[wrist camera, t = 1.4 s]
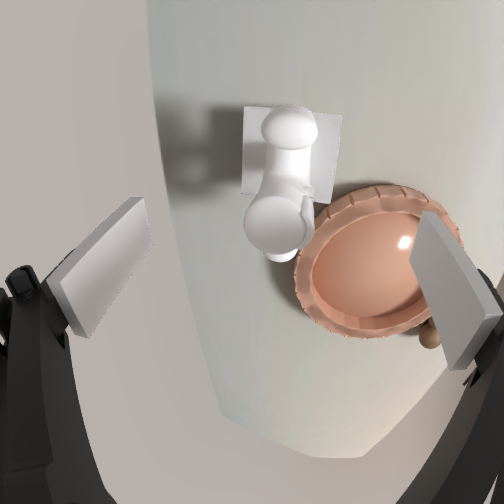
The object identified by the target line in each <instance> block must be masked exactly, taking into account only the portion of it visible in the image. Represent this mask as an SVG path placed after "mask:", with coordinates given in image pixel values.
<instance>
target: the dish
mask: <svg viewBox="0 0 504 504" xmlns="http://www.w3.org/2000/svg"><path fill="white" fill-rule="evenodd" d="M422 211H429V212H436V213H437V214H438V216H439V217H440V218H441V219H442V221H443V222H444V223H445V225H446V226H447V227H448V229H449V230H450V231H451V233H452V234H453V235H454V237H455V238H456V239H457V241H458V242H459V244H460V245H461V246H462V248H463V249H464V247H463V243H462V241H461V239H460V234H459V229H458V227H457V226H456V225H455V223H454V222H453V221H452V220H451V218H450V217H449V216H448V214H447V213H446V211H445V210H444V209H443V208H442V206H441V205H440V204H439V203H438V202H436V201H434V200H432V199H430V198H428V197H427V196H426V195H425V194H424V193H423V192H422V193H421V192H420V191H416V190H413V189H411V188H408V187H403V186H398V185H375V186H369V187H365V188H360V189H358V190H355V191H352V192H349V193H347V194H345V195H344V196H342V197H340V198H338V199H336V200H335V201H333V202H332V203H331V204H329V205H328V206H327V207H326V208H324V209H323V210H322V211H321V212H320V213H319V214H318V215H317V216H316V217H315V219H314V225H315V226H314V234H313V237H312V239H311V241H310V243H309V244H308V245H307V246H306V247H305V248H304V249H302V250H298V254H297V257H296V259H295V263H294V280H295V283H296V286H295V292H296V296H297V297H298V299H299V300H300V302H301V306H302V308H303V310H304V311H305V312H306V313H307V314H308V315H310V317H311V318H312V320H313V321H315V323H317V324H319V325H321V326H323V327H324V328H325V329H326V330H330V332H333V333H338V334H340V335H342V336H344V337H345V336H346V335H347V337H356V338H361V339H364V338H366V339H370V338H382V337H383V336H384V337H388V336H390V335H394V334H399V333H401V332H402V331H403V332H405V331H407V330H408V329H410V328H413V327H415V326H418V325H419V323H420V324H421V323H423V322H424V321H425V320H426V319H427V318H429V317H431V316H432V315H431V313H430V310H429V307H428V305H427V302H426V300H425V297H424V295H423V292H422V290H421V287H420V285H419V283H418V280H417V278H416V276H415V273H414V271H413V269H412V266H411V264H410V262H409V258H410V255H411V252H412V248H413V245H414V241H415V237H416V233H417V230H418V226H419V222H420V218H421V214H422Z"/></svg>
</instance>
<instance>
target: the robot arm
mask: <svg viewBox="0 0 504 504" xmlns="http://www.w3.org/2000/svg"><path fill="white" fill-rule="evenodd" d="M152 247H153V240H152V236H151V231H150V228H149V222H148V217H147V213H146V208H145V203H144V198H143V197H131V198H129V199H128V200H127V201H126V202H125V203H124V204H123V205H121V206H120V207H119V208H118V209H117V210H116V211H115V212H113V213H112V214H111V215H110V216H109V217H108V218H107V219H106V220H105V221H104V222H103V223H101V224H100V225H99V226H98V227H97V228H96V229H95V230H94V231H93V232H92V233H91V234H90V235H89V236H88V237H87V238H86V239H85V240H84V241H83V242H82V243H81V244H80V245H79V246H78V247H77V248H76V249H74V250H72V251H71V252H70V253H69V254H68V255H67V256H66V257H65V258H64V260H62V261H61V262H60V263H59V265H58V266H57V267H56V268H54V270H53V271H52V272H51V273H50V274H49V275H48V276H47V277H46V278H45V279H44V280H43V282H42V283H41V284H40V283H39V281H38V279H37V277H36V274H35V272H34V270H33V268H32V267H31V266H30V265H25V266H21V267H19V268H17V269H15V270H14V271H13V272H11V273H10V274H9V275H8V277H7V278H6V280H5V282H6V284H7V286H8V288H9V290H10V292H11V294H12V295H13V297H8V295H7V294H6V292H5V290H4V289H3V288H0V334H1V336H2V337H3V339H4V340H5V342H4V345H2V344H1V343H0V504H117V503H116V502H115V500H114V499H113V498H112V497H111V495H109V493H108V492H107V490H106V489H105V487H104V485H103V482H102V480H101V477H100V474H99V471H98V468H97V465H96V462H95V459H94V457H93V453H92V450H91V447H90V443H89V440H88V437H87V433H86V429H85V425H84V422H83V417H82V413H81V409H80V405H79V400H78V395H77V390H76V385H75V380H74V374H73V368H72V362H71V355H70V347H69V339H68V335H67V333H66V331H65V329H66V328H67V326H68V325H70V327H71V329H72V330H73V332H74V334H75V335H78V336H81V337H85V338H88V339H89V338H90V336H91V335H92V333H93V332H94V330H95V328H96V327H97V325H98V324H99V322H100V321H101V319H102V318H103V316H104V315H105V313H106V312H107V310H108V309H109V307H110V306H111V304H112V303H113V301H114V300H115V298H116V297H117V295H118V294H119V292H120V291H121V289H122V288H123V287H124V285H125V284H126V282H127V281H128V280H129V278H130V277H131V275H132V274H133V272H134V271H135V270H136V268H137V267H138V265H139V264H140V263H141V261H142V260H143V259H144V257H145V256H146V255H147V253H148V252H149V251H150V249H151V248H152ZM409 262H410V264H411V266H412V269H413V271H414V273H415V276H416V278H417V280H418V283H419V285H420V287H421V290H422V292H423V295H424V297H425V300H426V302H427V305H428V307H429V310H430V313H431V315H432V318H433V321H434V324H435V326H436V329H437V332H438V335H439V338H440V341H441V344H442V347H443V350H444V353H445V356H446V360H447V363H448V366H449V370H450V371H453V370H463V369H467V367H468V366H469V365H470V363H471V362H472V360H473V359H475V362H476V365H477V367H476V368H475V369H474V371H473V372H472V373H471V375H470V376H469V377H468V378H467V380H466V381H465V382H464V383H463V385H464V386H465V385H466V384H467V382H468V384H467V386H466V389H465V391H464V393H463V395H462V397H461V400H460V402H459V404H458V406H457V408H456V410H455V412H454V414H453V416H452V418H451V420H450V422H449V423H448V425H447V427H446V429H445V431H444V433H443V434H442V436H441V438H440V440H439V441H438V443H437V445H436V446H435V448H434V450H433V451H432V453H431V455H430V456H429V458H428V459H427V461H426V463H425V464H424V465H423V467H422V469H421V470H420V472H419V473H418V474H417V476H416V477H415V479H414V480H413V481H412V483H411V484H410V486H409V487H408V489H407V490H406V491H405V492H404V494H403V495H402V496H401V497H400V499H399V500H398V501H397V503H396V504H483V503H484V501H485V500H486V498H487V495H488V494H489V492H490V490H491V488H492V485H493V483H494V481H495V479H496V477H497V475H498V477H497V481H496V485H495V488H494V492H493V495H492V498H491V502H490V504H504V303H503V301H502V300H501V297H500V296H499V295H498V293H497V291H496V289H495V288H493V284H492V283H491V281H490V279H489V278H488V277H487V276H486V275H485V274H484V273H483V272H482V271H481V270H480V269H476V267H475V265H474V264H473V262H472V261H471V259H470V258H469V256H468V255H467V254H466V252H465V251H464V249H463V248H462V246H461V245H460V244H459V242H458V241H457V239H456V238H455V237H454V235H453V234H452V233H451V231H450V230H449V229H448V227H447V226H446V225H445V223H444V222H443V221H442V219H441V218H440V217H439V216H438V214H437V213H436V212H429V211H422V214H421V218H420V222H419V226H418V230H417V233H416V237H415V241H414V245H413V248H412V252H411V255H410V258H409Z"/></svg>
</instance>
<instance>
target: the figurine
mask: <svg viewBox="0 0 504 504" xmlns="http://www.w3.org/2000/svg"><path fill="white" fill-rule="evenodd" d="M342 121H343V116H339V115H332V114H325V113H318V112H310V111H309V110H307V109H306V108H304V107H302V106H298V105H293V104H285V105H280V106H277V107H275V108H267V107H250V106H244V119H243V153H242V193H241V194H245V195H256V196H255V198H254V200H253V201H252V203H251V204H250V206H249V207H248V209H247V211H246V213H245V216H244V230H245V233H246V235H247V237H248V239H249V241H250V242H251V243H252V244H253V245H254V246H255V247H256V248H258V249H259V250H261V251H263V253H264V254H265V256H266V257H267V258H268V259H270V260H272V261H275V262H286V261H288V260H290V259H292V258H293V257H294V256H295V254H296V253H297V251H298V250H302V249H304V248H305V247H306V246H307V245H308V244H309V243H310V241H311V239H312V237H313V234H314V226H315V225H314V207H313V202H318V203H326V204H330V203H331V197H332V191H333V185H334V178H335V172H336V165H337V159H338V152H339V144H340V137H341V129H342Z"/></svg>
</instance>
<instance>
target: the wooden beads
mask: <svg viewBox="0 0 504 504" xmlns="http://www.w3.org/2000/svg"><path fill="white" fill-rule="evenodd" d="M428 320H429V323H426V324H425V325H424V326H423V327H422V328H421V330H420V332H419V341H420V343H421V345H422V346H423V347H425V348H428V349H433V348H436V347H437V346H439V345H440V343H441V341H440V338H439V335H438V332H437V329H436V326H435V324H434V321H433V318H432V316H431V317H429V318H428Z"/></svg>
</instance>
